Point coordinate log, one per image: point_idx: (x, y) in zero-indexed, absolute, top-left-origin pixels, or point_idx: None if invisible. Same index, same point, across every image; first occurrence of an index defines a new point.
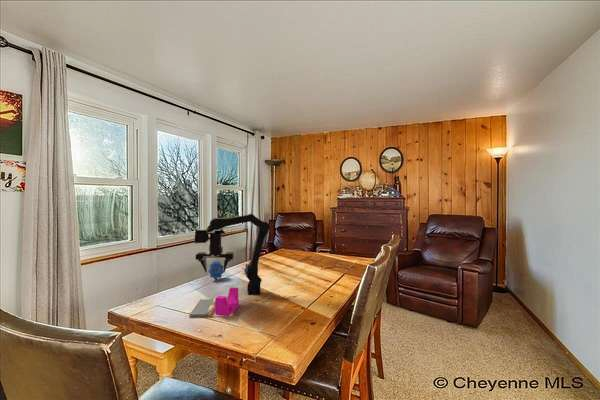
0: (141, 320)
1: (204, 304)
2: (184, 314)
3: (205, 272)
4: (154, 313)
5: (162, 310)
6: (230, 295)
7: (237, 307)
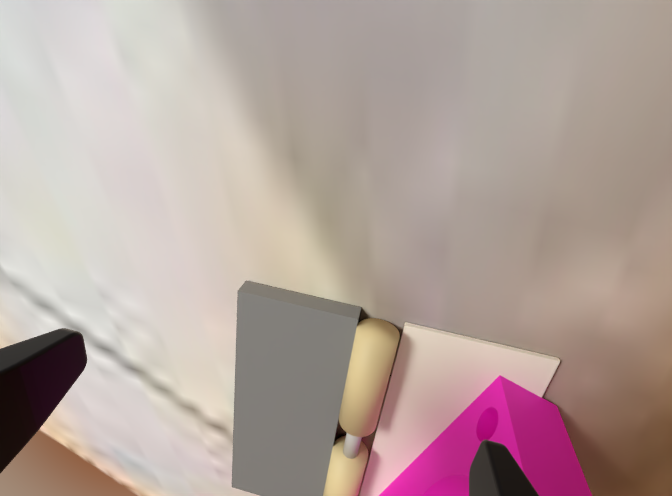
0: None
1: (289, 393)
2: (202, 434)
3: (70, 364)
4: None
5: None
6: None
7: None
